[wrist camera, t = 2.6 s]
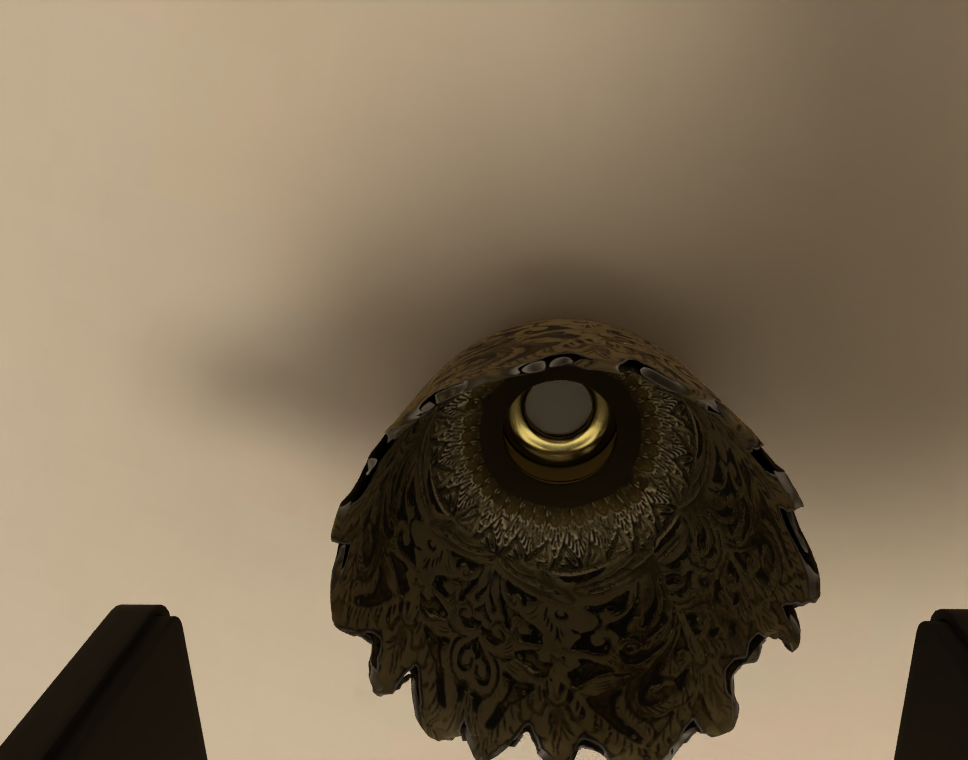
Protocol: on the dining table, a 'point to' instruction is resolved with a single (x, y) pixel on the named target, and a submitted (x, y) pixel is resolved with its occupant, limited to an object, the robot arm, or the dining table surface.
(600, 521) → the dark brown rounded piece
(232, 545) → the dining table surface
